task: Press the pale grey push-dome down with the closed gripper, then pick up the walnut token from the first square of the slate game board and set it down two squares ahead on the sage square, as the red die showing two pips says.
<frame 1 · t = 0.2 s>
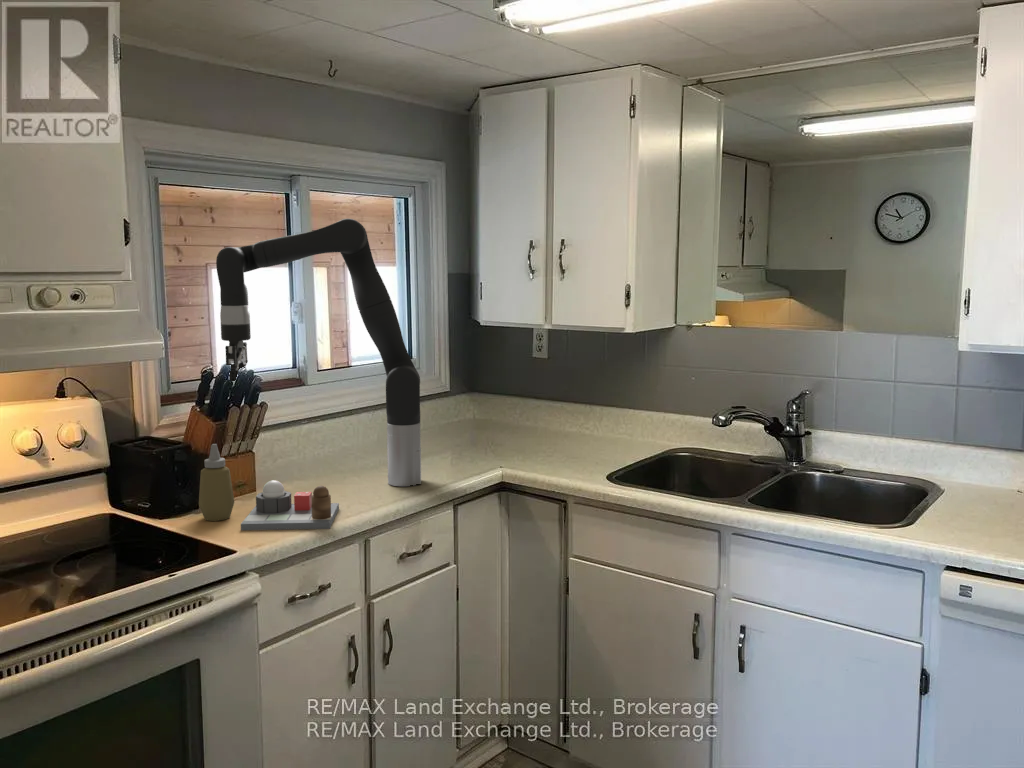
hand: (237, 382, 220), 29 cm above the worktop, tool pointing down, fingers open, 8 cm apart
red die: (303, 508, 198), resting on board
token: (321, 516, 191), point 2 cm above the worktop, touching board
board: (292, 519, 194), on the worktop
dome: (273, 490, 197), point 6 cm above the worktop, slide at 0.0 cm
squeeze bottle: (217, 518, 194), on the worktop
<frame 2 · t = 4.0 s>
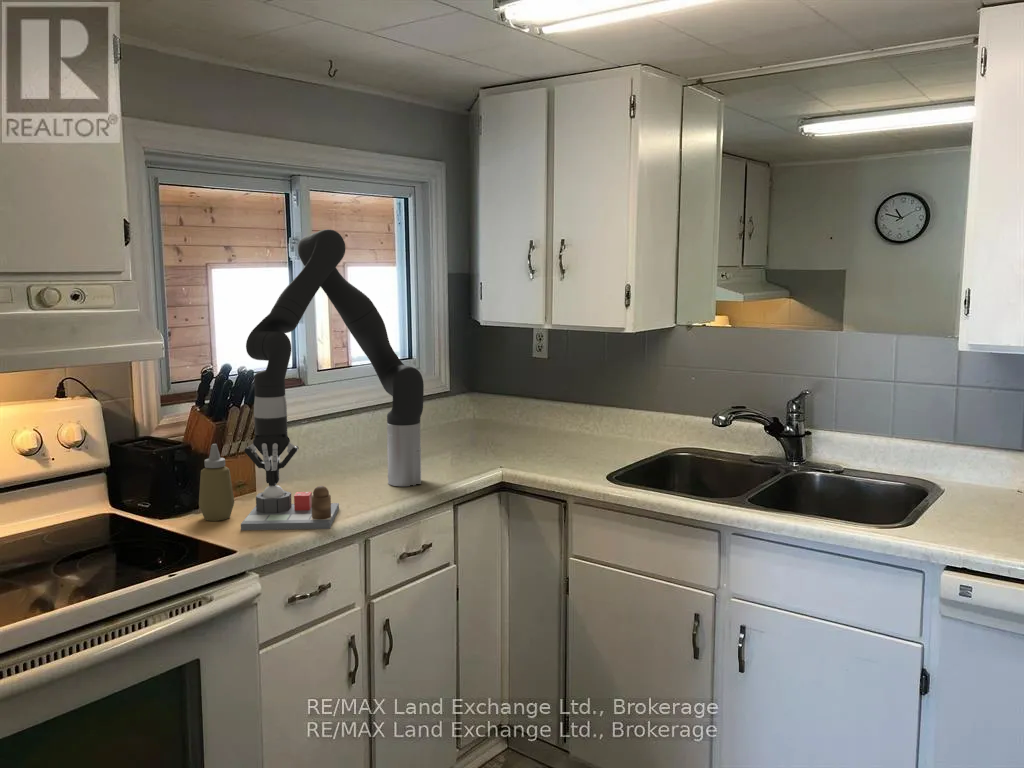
hand: (272, 484, 196), 7 cm above the worktop, tool pointing down, fingers closed
dome: (273, 494, 197), point 5 cm above the worktop, slide at 1.1 cm, touching gripper
everything else where it was.
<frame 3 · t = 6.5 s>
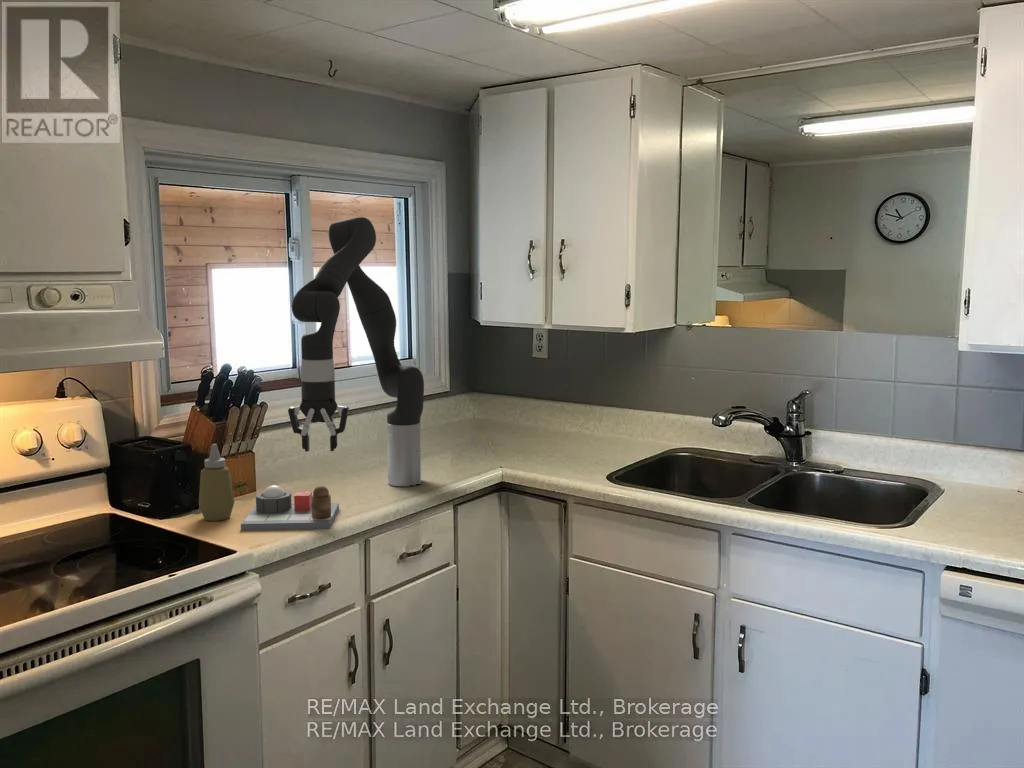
hand: (319, 450, 189), 17 cm above the worktop, tool pointing down, fingers open, 5 cm apart
dome: (273, 495, 197), point 5 cm above the worktop, slide at 1.2 cm
everything else where it was.
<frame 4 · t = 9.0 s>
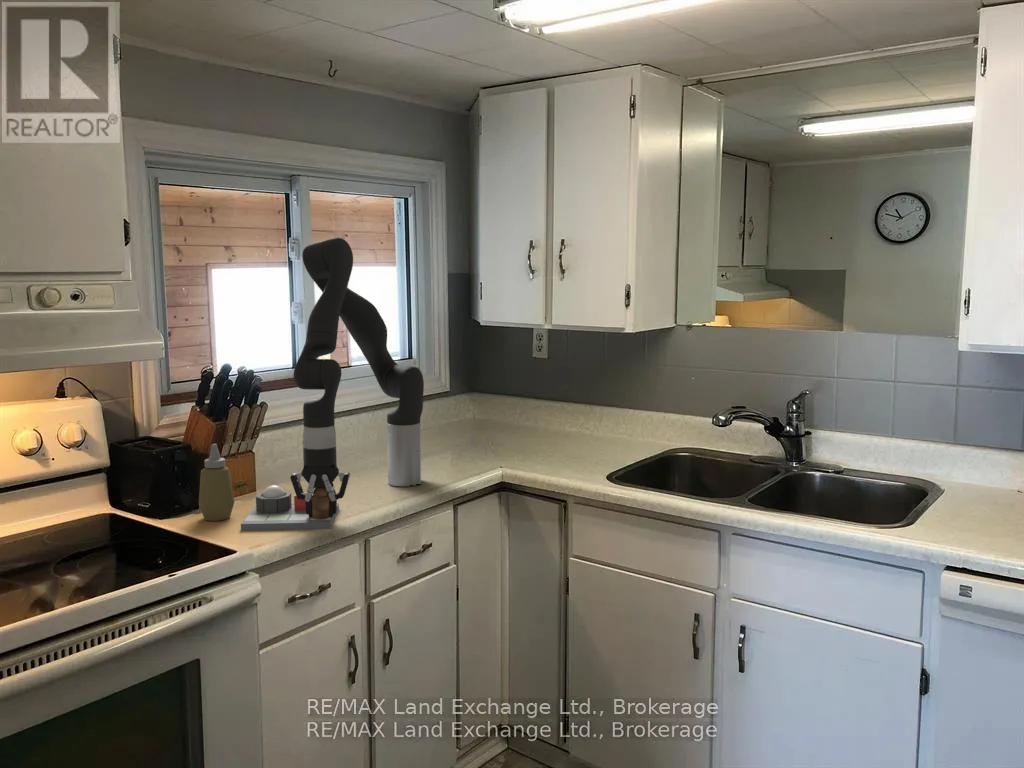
hand: (321, 515, 191), 2 cm above the worktop, tool pointing down, fingers closed on token, 4 cm apart
token: (321, 516, 191), point 2 cm above the worktop, touching board, gripper
everything else where it was.
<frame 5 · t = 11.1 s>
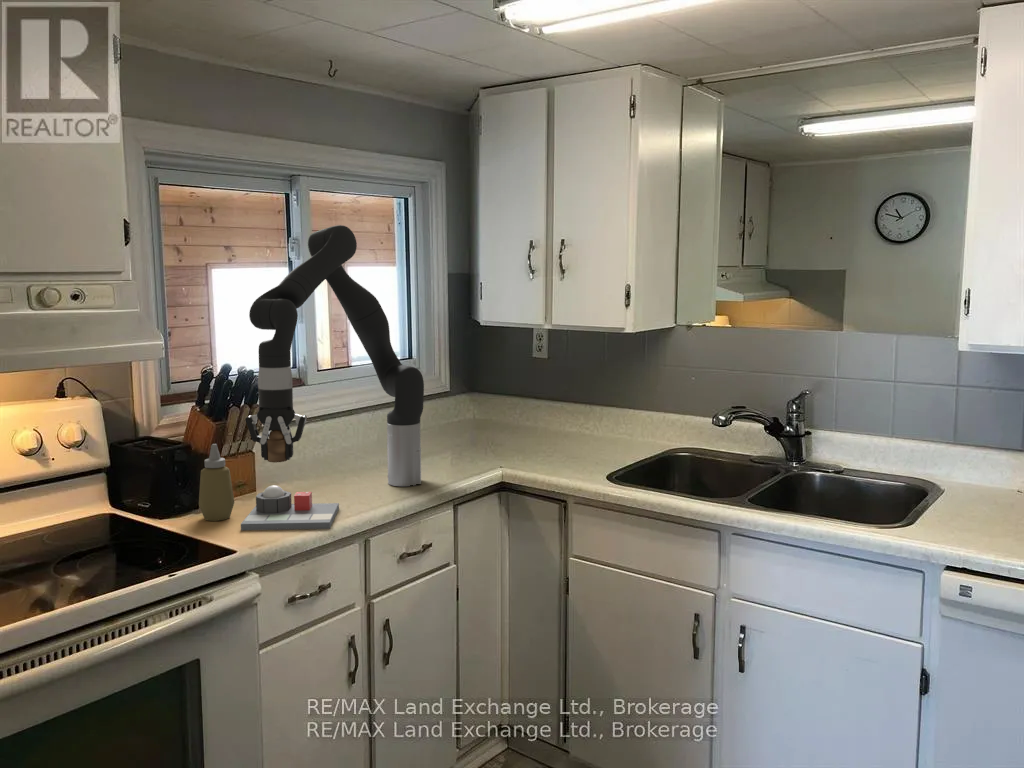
hand: (277, 459, 188), 16 cm above the worktop, tool pointing down, fingers closed on token, 4 cm apart
token: (277, 460, 188), point 15 cm above the worktop, touching gripper
everything else where it was.
when the fingers open (3 cm above the worktop, at t = 13.2 s): token stays where it is, resting on board.
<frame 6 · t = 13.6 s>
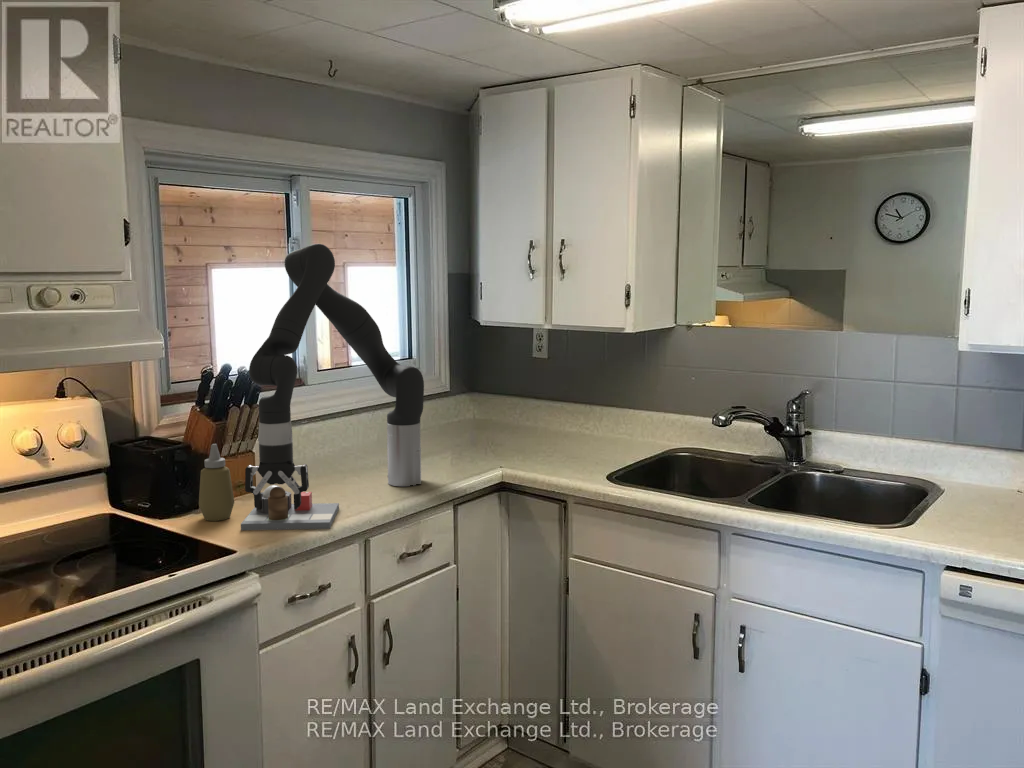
hand: (278, 508, 190), 4 cm above the worktop, tool pointing down, fingers open, 8 cm apart
token: (278, 517, 190), point 2 cm above the worktop, touching board
everything else where it was.
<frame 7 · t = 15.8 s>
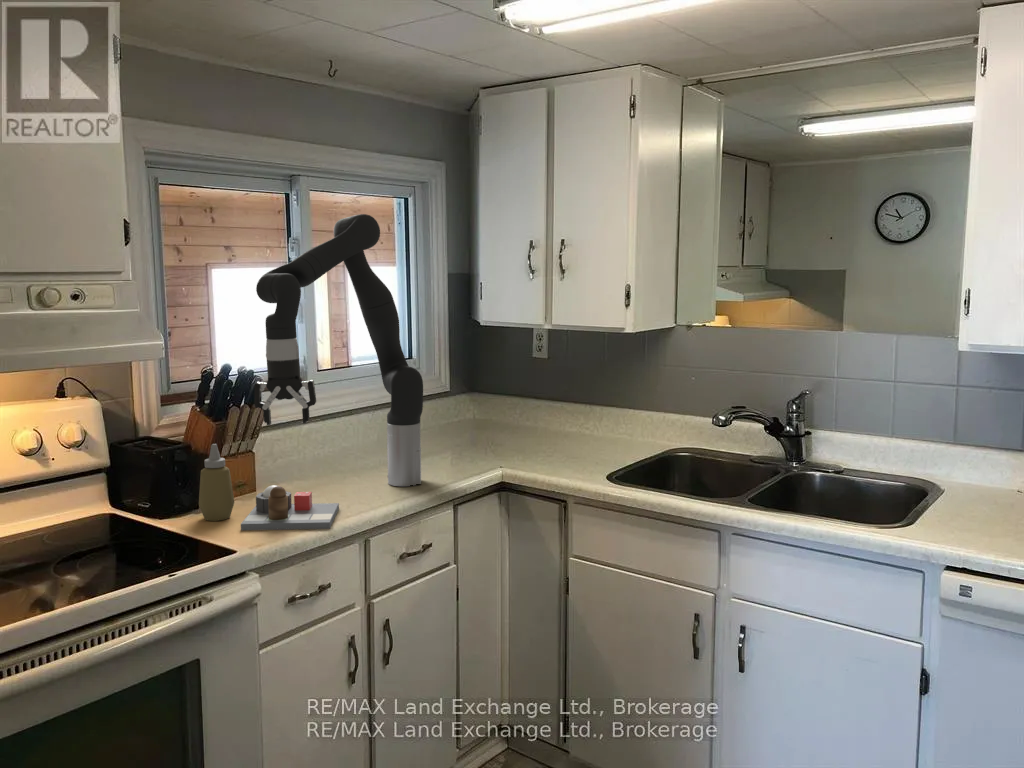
hand: (287, 423, 197), 22 cm above the worktop, tool pointing down, fingers open, 8 cm apart
nothing on the worktop moved.
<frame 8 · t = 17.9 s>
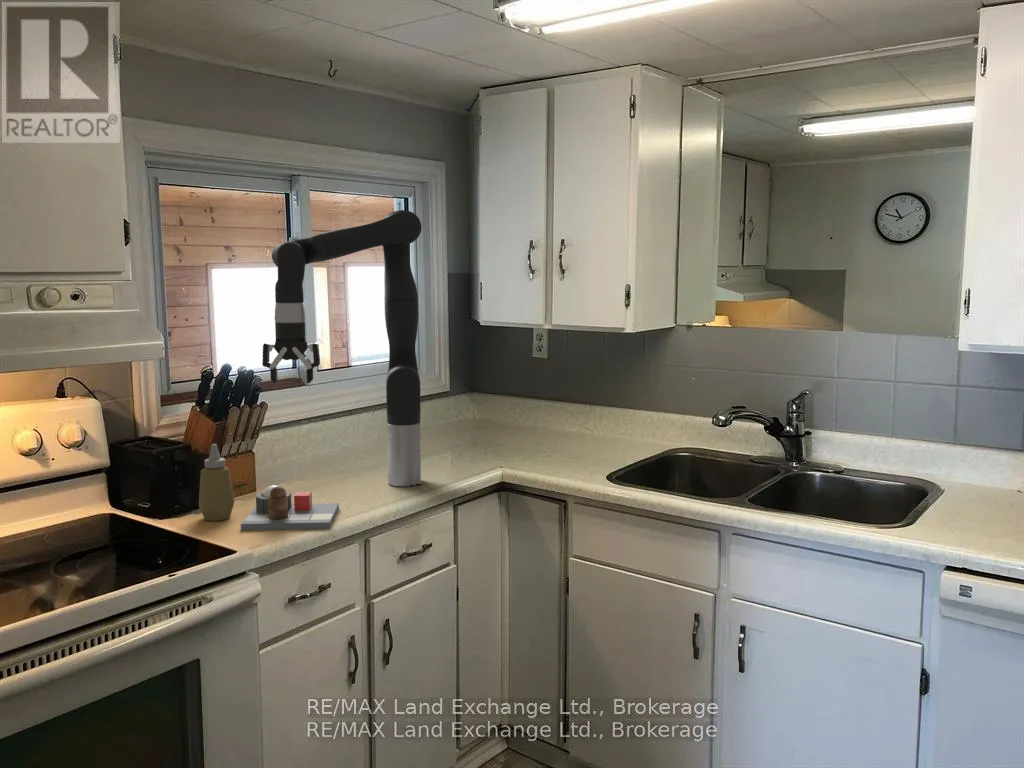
hand: (292, 383, 210), 30 cm above the worktop, tool pointing down, fingers open, 8 cm apart
nothing on the worktop moved.
at the end: dome slide at 1.2 cm; token 0.0 cm from the target spot on the board, point 1.6 cm above the board's base; token tilted 1° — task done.
